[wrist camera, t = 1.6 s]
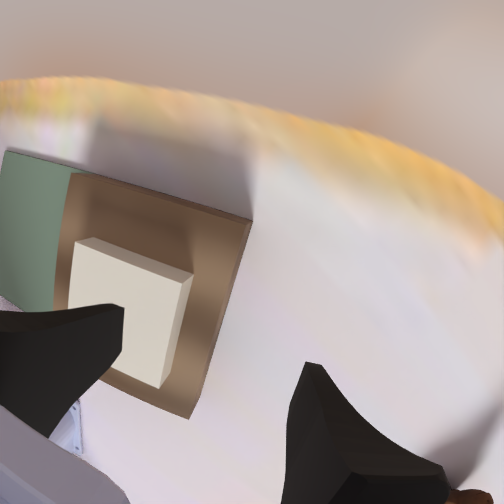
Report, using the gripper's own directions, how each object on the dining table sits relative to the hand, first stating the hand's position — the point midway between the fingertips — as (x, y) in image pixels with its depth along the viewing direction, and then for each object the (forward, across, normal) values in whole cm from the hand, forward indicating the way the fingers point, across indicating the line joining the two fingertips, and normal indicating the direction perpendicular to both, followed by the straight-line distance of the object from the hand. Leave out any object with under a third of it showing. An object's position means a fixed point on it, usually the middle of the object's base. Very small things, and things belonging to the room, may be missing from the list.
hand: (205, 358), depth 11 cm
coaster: (+6, +6, +2) cm, 9 cm away
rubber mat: (+9, +19, +2) cm, 21 cm away
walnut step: (+9, +7, +2) cm, 12 cm away
